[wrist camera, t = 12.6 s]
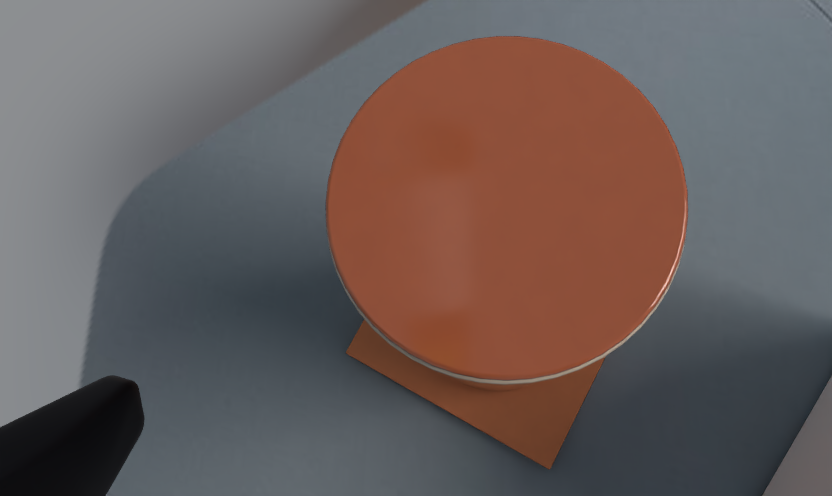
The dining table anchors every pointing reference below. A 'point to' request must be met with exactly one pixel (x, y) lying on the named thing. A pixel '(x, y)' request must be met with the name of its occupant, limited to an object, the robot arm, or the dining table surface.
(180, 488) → the dining table surface
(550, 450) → the terracotta mat
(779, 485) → the container
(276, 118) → the dining table surface
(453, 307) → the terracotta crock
